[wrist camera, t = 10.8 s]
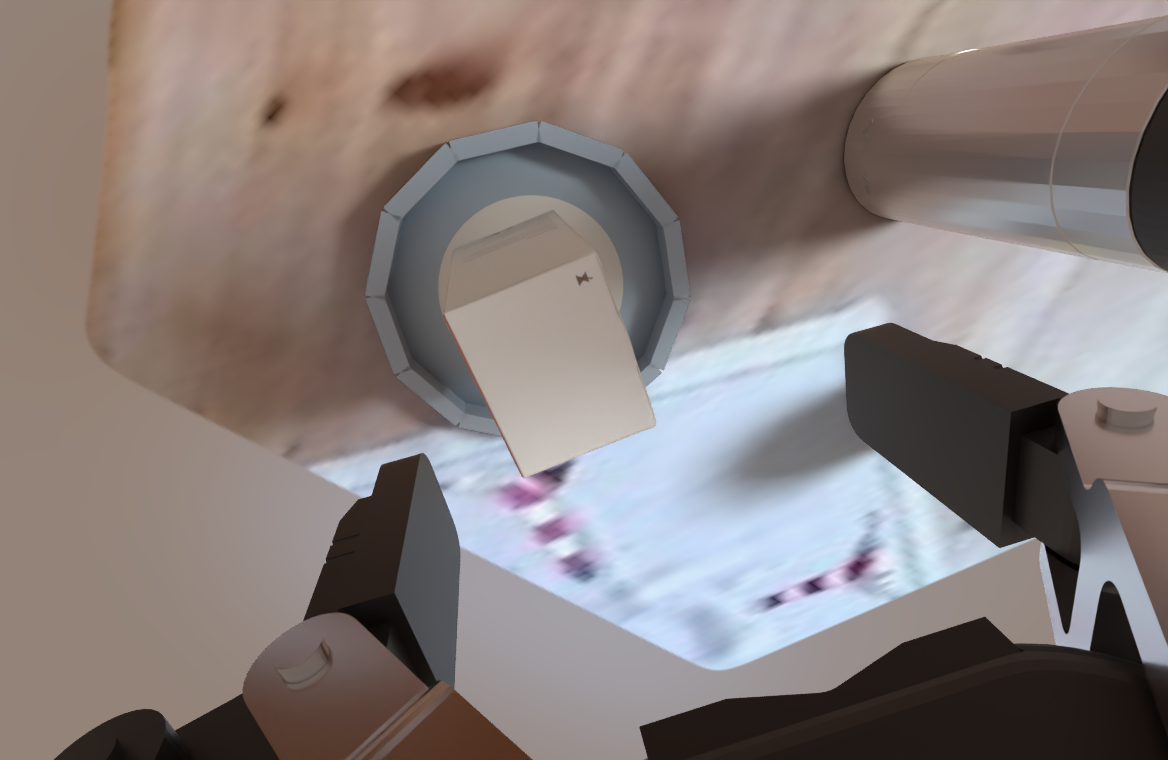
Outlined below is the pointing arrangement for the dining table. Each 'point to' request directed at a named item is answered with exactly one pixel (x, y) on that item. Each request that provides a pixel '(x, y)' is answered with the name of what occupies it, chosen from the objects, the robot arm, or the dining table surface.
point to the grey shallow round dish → (501, 200)
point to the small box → (545, 342)
